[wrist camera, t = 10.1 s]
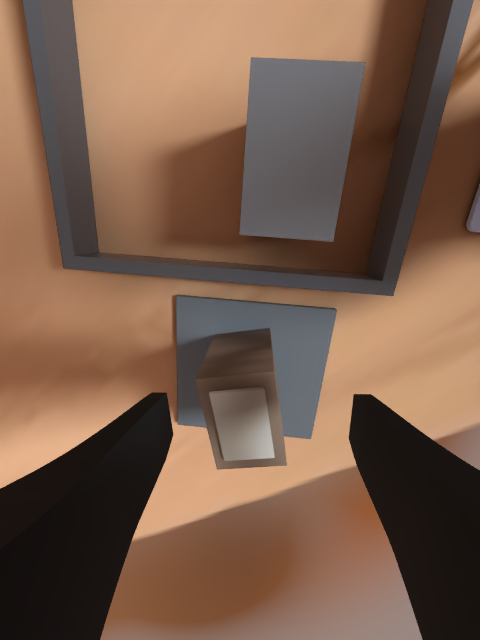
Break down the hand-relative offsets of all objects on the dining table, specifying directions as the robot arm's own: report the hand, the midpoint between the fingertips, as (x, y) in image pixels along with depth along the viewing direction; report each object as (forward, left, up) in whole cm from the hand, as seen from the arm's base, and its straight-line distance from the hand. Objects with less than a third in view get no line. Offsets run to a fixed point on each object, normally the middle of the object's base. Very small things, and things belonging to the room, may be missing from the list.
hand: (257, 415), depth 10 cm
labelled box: (+1, +3, -9) cm, 9 cm away
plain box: (-1, -9, -9) cm, 13 cm away
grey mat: (0, +4, -9) cm, 10 cm away
